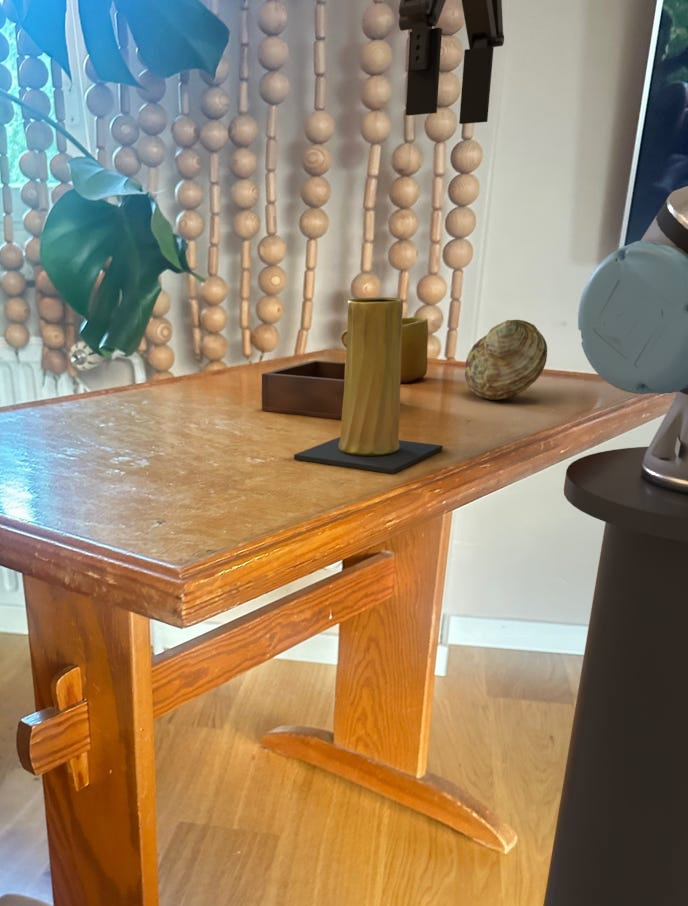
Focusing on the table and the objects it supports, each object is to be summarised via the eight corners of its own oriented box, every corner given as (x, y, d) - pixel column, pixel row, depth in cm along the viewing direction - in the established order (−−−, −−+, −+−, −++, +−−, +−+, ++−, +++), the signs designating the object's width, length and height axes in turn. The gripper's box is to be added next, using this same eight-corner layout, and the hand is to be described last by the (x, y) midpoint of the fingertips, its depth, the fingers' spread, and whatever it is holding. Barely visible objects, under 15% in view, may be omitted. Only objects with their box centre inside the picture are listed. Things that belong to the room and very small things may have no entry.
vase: (329, 445, 95) (333, 298, 89) (383, 440, 96) (391, 295, 90) (352, 459, 89) (358, 303, 83) (410, 453, 91) (420, 300, 85)
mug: (448, 361, 134) (432, 295, 129) (422, 394, 128) (405, 326, 123) (374, 372, 142) (356, 310, 137) (346, 404, 136) (326, 340, 131)
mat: (442, 450, 94) (442, 445, 94) (393, 474, 86) (393, 468, 86) (347, 438, 100) (347, 433, 100) (293, 459, 92) (293, 454, 92)
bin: (398, 403, 117) (400, 366, 115) (350, 420, 108) (351, 381, 106) (313, 394, 124) (314, 360, 122) (261, 410, 115) (261, 373, 113)
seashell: (554, 393, 120) (565, 312, 116) (529, 408, 112) (540, 322, 108) (475, 387, 126) (482, 310, 122) (445, 401, 117) (452, 318, 113)
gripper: (475, -114, 92) (458, 128, 101) (366, -192, 73) (356, 113, 82) (552, -131, 88) (526, 123, 97) (457, -218, 69) (436, 105, 78)
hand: (448, 119), depth 89 cm, fingers open, 13 cm apart
